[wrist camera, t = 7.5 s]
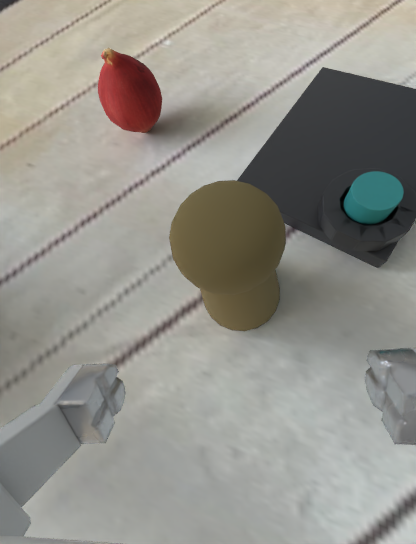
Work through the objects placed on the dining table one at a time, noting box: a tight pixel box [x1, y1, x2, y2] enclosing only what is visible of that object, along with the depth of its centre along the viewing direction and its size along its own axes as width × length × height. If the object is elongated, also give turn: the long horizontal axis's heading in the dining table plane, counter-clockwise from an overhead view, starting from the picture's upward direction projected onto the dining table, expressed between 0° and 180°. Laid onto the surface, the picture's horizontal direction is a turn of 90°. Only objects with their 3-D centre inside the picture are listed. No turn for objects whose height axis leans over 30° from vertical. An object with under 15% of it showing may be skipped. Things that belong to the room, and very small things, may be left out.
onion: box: [98, 48, 162, 133], centre depth 25 cm, size 6×6×8 cm
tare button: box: [344, 171, 404, 224], centre depth 17 cm, size 3×3×2 cm
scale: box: [237, 67, 416, 268], centre depth 21 cm, size 16×13×3 cm
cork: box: [169, 180, 286, 331], centre depth 15 cm, size 6×6×11 cm
